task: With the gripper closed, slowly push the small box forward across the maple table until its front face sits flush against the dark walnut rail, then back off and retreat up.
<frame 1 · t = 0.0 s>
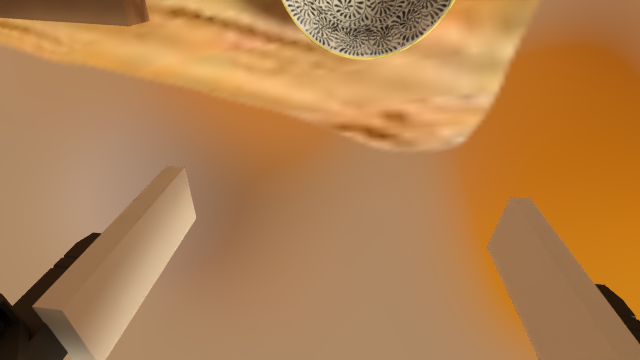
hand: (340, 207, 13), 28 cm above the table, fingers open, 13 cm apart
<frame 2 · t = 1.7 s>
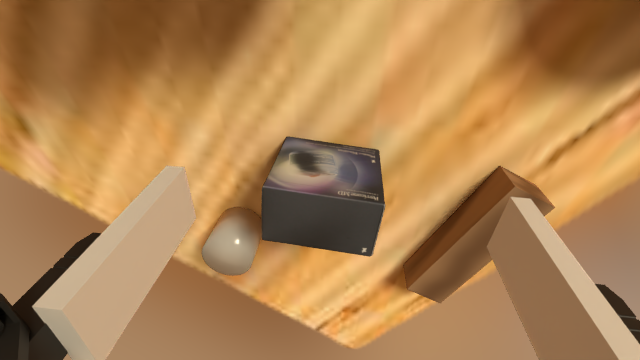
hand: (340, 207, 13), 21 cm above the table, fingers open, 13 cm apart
small box: (329, 164, 37), on the table
walnut rail: (462, 229, 39), on the table
beige rounded piece: (242, 224, 43), on the table
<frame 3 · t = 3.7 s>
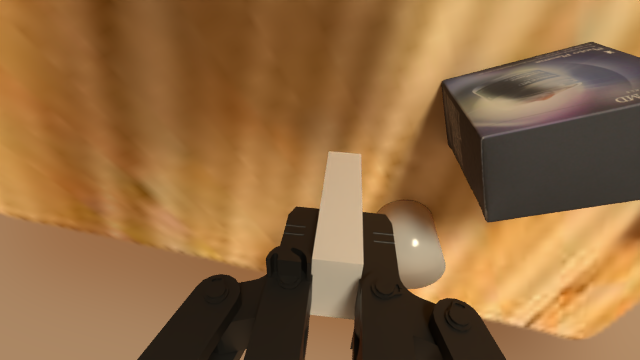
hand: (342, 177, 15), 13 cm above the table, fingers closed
small box: (511, 96, 25), on the table
beige rounded piece: (402, 222, 34), on the table
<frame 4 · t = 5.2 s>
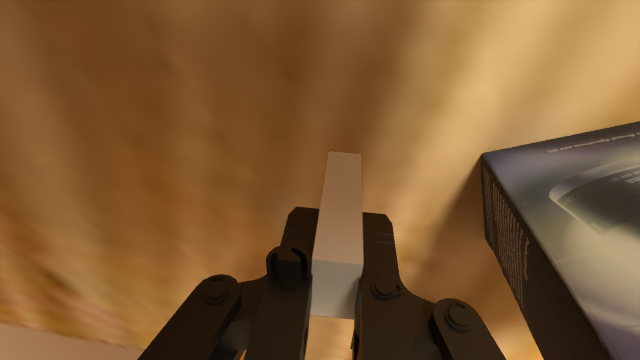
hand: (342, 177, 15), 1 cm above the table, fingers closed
small box: (592, 176, 16), on the table
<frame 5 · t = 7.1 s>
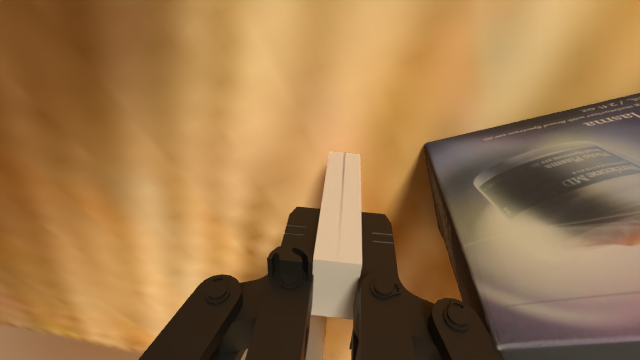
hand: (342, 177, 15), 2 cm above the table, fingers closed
small box: (537, 164, 16), on the table, touching hand
beige rounded piece: (288, 305, 25), on the table
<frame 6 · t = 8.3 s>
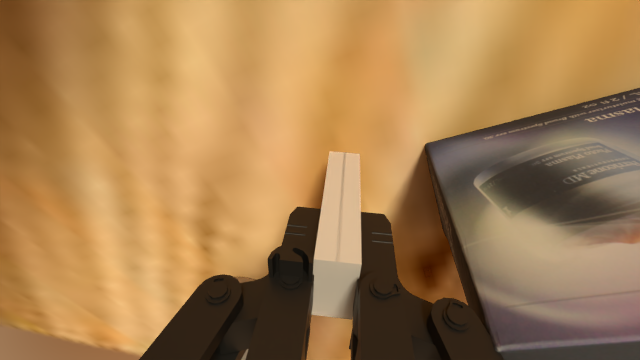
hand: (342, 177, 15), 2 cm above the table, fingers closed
small box: (540, 161, 16), on the table, touching hand, walnut rail
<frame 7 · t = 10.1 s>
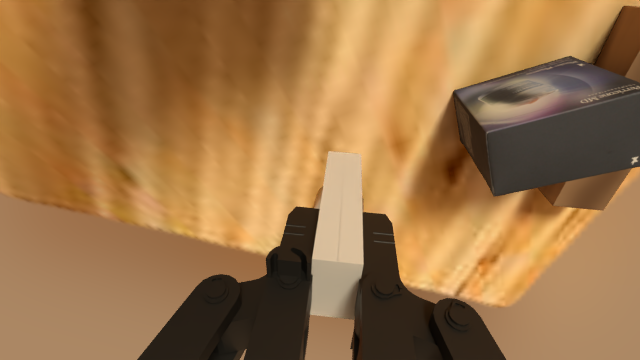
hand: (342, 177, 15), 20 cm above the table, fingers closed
small box: (510, 100, 32), on the table
walnut rail: (599, 111, 31), on the table
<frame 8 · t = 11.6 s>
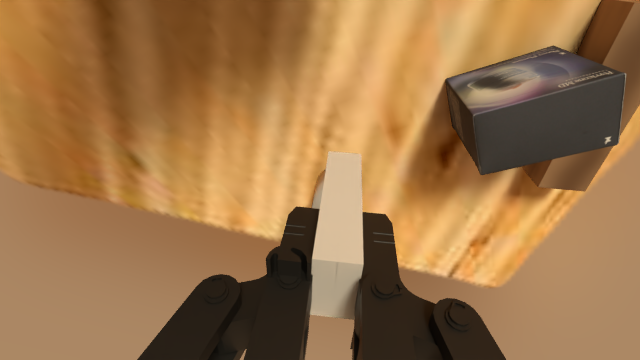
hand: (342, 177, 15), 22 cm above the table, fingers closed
small box: (498, 88, 34), on the table
walnut rail: (581, 97, 34), on the table
beige rounded piece: (338, 185, 43), on the table
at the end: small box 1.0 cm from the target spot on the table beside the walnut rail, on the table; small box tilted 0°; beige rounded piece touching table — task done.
